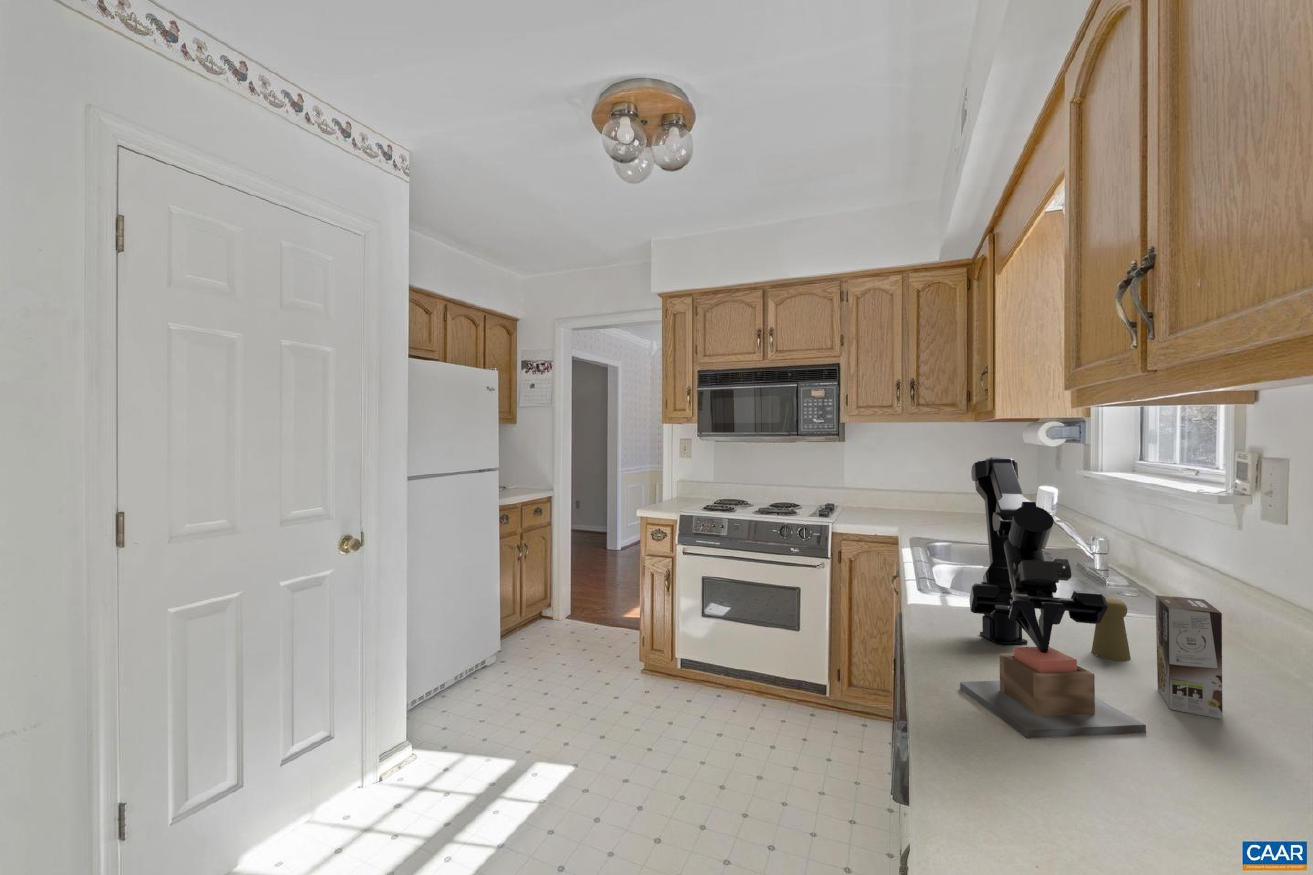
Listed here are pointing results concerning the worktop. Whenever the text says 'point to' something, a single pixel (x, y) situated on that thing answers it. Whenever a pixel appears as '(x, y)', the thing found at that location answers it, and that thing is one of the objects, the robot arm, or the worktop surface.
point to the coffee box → (1189, 655)
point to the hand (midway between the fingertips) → (1044, 651)
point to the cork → (1112, 633)
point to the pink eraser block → (1045, 660)
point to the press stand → (1049, 702)
